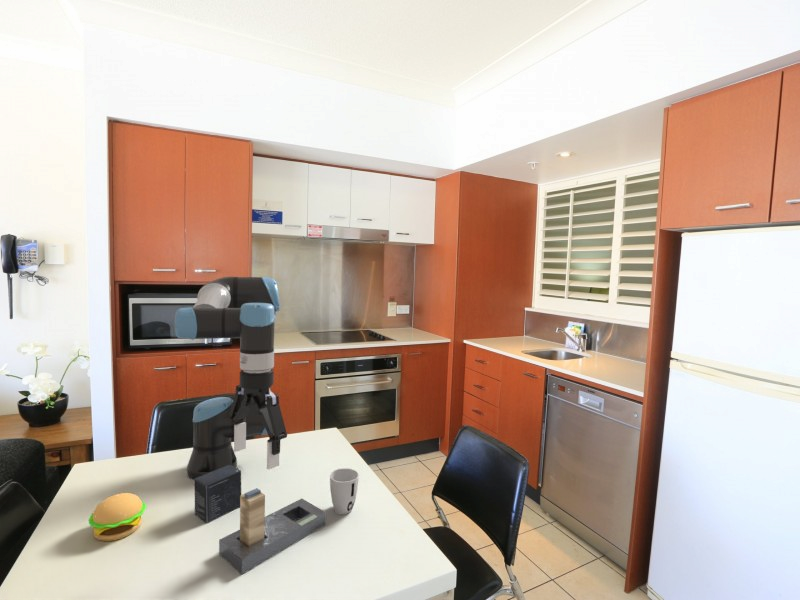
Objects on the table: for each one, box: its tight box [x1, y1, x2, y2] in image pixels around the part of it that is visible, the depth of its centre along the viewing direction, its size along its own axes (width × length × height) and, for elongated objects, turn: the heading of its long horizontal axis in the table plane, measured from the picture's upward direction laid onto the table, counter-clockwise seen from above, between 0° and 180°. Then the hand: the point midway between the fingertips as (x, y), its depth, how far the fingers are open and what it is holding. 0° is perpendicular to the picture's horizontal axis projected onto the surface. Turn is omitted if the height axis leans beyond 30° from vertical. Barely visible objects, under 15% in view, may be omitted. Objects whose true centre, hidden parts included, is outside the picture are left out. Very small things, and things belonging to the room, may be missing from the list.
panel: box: [218, 498, 327, 575], centre depth 102 cm, size 10×24×4 cm, turn 141°
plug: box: [239, 487, 266, 548], centre depth 97 cm, size 4×4×15 cm
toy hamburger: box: [88, 492, 147, 542], centre depth 104 cm, size 12×12×9 cm
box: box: [193, 465, 242, 524], centre depth 113 cm, size 11×7×10 cm, turn 145°
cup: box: [329, 467, 360, 515], centre depth 116 cm, size 8×8×10 cm
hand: (255, 458), depth 96 cm, fingers open, 13 cm apart
